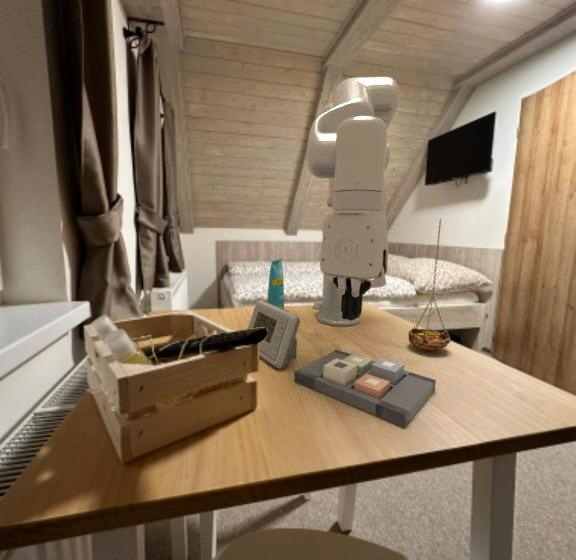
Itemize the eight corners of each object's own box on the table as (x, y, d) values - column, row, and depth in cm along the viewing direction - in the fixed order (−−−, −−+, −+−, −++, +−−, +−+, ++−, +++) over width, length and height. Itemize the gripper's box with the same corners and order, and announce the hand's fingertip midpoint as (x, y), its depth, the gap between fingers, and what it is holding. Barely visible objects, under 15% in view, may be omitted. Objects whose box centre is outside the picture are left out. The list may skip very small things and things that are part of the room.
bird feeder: (453, 359, 69) (470, 218, 64) (410, 355, 71) (423, 217, 66) (442, 345, 77) (456, 219, 72) (404, 341, 79) (415, 218, 74)
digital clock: (242, 344, 75) (241, 300, 73) (278, 340, 78) (278, 298, 76) (262, 374, 60) (262, 320, 58) (305, 367, 63) (307, 316, 62)
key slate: (370, 378, 56) (371, 364, 56) (380, 370, 59) (381, 357, 59) (393, 386, 54) (395, 371, 53) (403, 377, 57) (404, 363, 56)
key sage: (340, 372, 60) (341, 360, 60) (351, 365, 63) (352, 353, 63) (361, 380, 57) (361, 366, 57) (371, 372, 61) (372, 359, 60)
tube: (281, 337, 80) (282, 261, 77) (262, 335, 81) (263, 260, 78) (286, 328, 88) (288, 258, 84) (269, 326, 88) (270, 257, 85)
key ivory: (323, 379, 55) (323, 365, 55) (336, 371, 59) (336, 357, 58) (344, 387, 53) (345, 372, 52) (356, 378, 56) (357, 364, 56)
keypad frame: (294, 381, 57) (294, 371, 57) (335, 358, 68) (336, 349, 68) (404, 428, 45) (405, 415, 44) (434, 390, 55) (435, 380, 55)
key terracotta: (353, 396, 52) (354, 381, 51) (365, 387, 55) (366, 373, 55) (377, 406, 49) (379, 390, 49) (389, 395, 52) (390, 381, 52)
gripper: (304, 204, 52) (301, 314, 55) (395, 202, 42) (385, 334, 46) (329, 207, 57) (325, 306, 61) (413, 205, 48) (403, 322, 51)
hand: (350, 317), depth 53 cm, fingers closed
